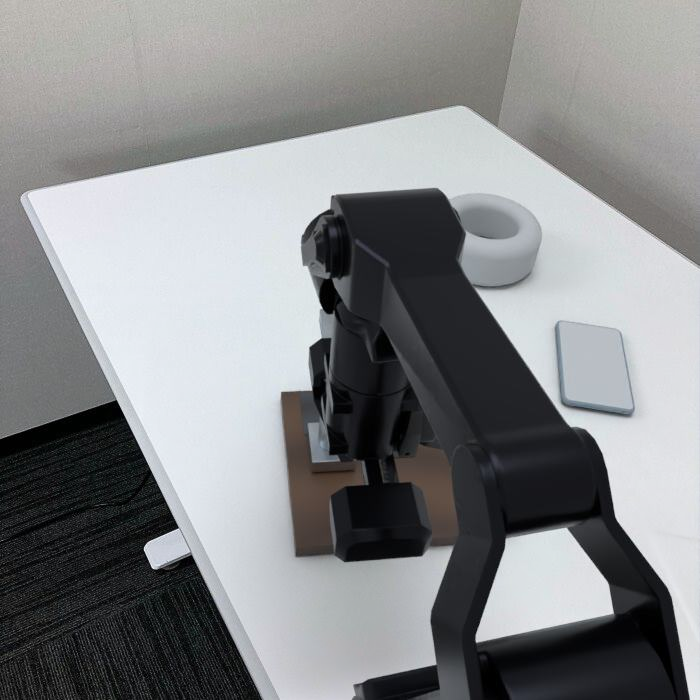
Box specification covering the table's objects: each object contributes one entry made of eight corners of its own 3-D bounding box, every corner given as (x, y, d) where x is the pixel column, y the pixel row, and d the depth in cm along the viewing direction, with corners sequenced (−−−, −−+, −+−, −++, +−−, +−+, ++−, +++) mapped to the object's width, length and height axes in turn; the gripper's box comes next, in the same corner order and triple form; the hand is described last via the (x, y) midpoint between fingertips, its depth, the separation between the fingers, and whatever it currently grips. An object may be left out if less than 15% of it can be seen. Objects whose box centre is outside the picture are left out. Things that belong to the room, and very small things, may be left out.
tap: (355, 469, 78) (366, 381, 69) (311, 472, 77) (317, 384, 69) (341, 392, 86) (350, 304, 77) (302, 393, 85) (306, 305, 77)
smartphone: (621, 328, 99) (636, 412, 88) (619, 334, 100) (634, 417, 88) (556, 318, 99) (562, 400, 88) (554, 324, 100) (560, 406, 89)
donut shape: (524, 301, 103) (536, 261, 98) (415, 273, 106) (422, 233, 101) (540, 242, 114) (551, 203, 109) (441, 218, 116) (448, 179, 112)
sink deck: (501, 541, 75) (504, 532, 74) (295, 557, 72) (295, 547, 71) (453, 392, 89) (456, 383, 88) (280, 400, 86) (280, 390, 85)
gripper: (534, 470, 45) (483, 606, 55) (459, 274, 58) (429, 413, 69) (344, 483, 43) (329, 620, 54) (311, 277, 57) (304, 420, 67)
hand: (354, 506), depth 61 cm, fingers open, 9 cm apart
